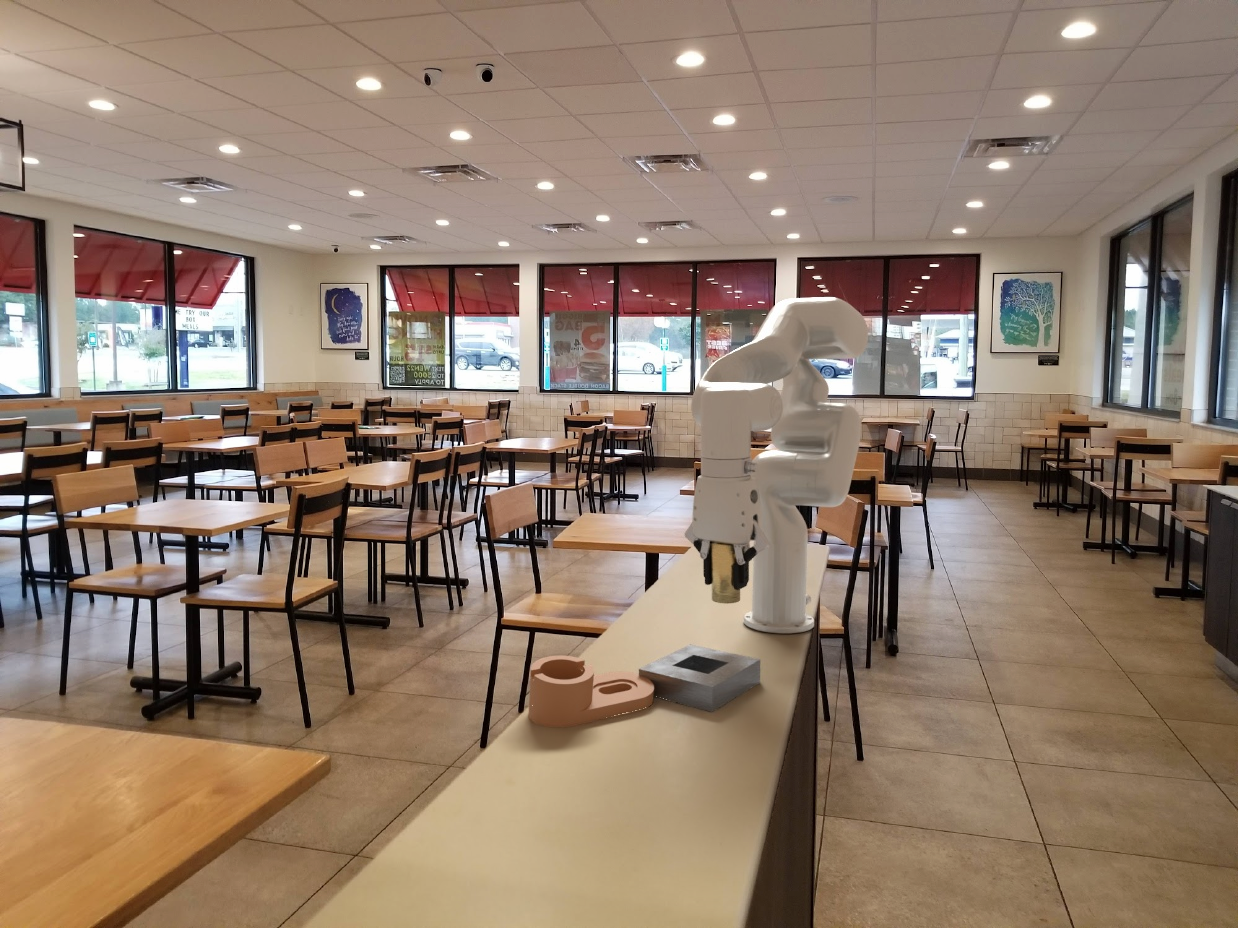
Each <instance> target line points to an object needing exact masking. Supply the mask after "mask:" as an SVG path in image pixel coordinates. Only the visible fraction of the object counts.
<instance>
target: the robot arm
mask: <svg viewBox="0 0 1238 928" xmlns="http://www.w3.org/2000/svg"><path fill="white" fill-rule="evenodd" d="M868 339H869V329H868V325H867V322H866V320H865V318H864V316H863V315H862V313H860V312H859V310H857V309H856V308H855V307H854V306H852V305H851V304H850V303H849V302H847V301H845V300H844V299H841V298H838V297H833V296H824V297H821V296H820V297H800V298H799V297H797V298H787V299H783V300H781V301H779V302H776V303H775V305H774V306H772V308H771V309H770V310H769V312H768V314H767V315H766V317H765V319H764V320H763V322H762V324H761V326H760V327H759V329H758V331H757V332H756V334H755V335H754V337H753V339H752V340H751V341H750V342H748V343H746V344H744V345H741V346H739V347H738V348H736V349H735V350H733V351H731V352H729V353H727V354H725V355H724V356H722V357H720V358H718V359H717V360H715V361H714V362H713V363H712V364H711V365H710V366H708V368H707V369H706V370H705V372H704V373H703V375H702V376H701V378H700V380H699V382H698V383H697V384H696V387H695V389H694V391H693V395H692V398H691V403H690V406H691V407H690V408H691V409H690V411H691V416H692V419H694V421H695V423H696V425H698V426H699V427H700V475H699V476H697V480H696V484H695V489H694V495H693V503H692V522H691V524H689V526H688V528H687V530H685V532H684V537H685V538H686V539H687V540H688V541H689V542H690V543H691V544H693V547H694V548H695V549H696V550H697V552H698V553H699V558H700V559H701V560H703V562H702V563H703V565H702V566H703V568H702V569H703V577H704V584H705V585H706V586H709V585H712V570H711V542H719V543H727V544H734V549H735V554H736V559H737V564H734V589H735V590H740V591H741V589H744V588H746V587H747V586H748V583H749V581H750V562H751V561H752V599H751V600H752V609H751V610H750V611H748V612H746V613H745V614H743V624H744V625H745V626H746V627H748V628H749V629H752V630H756V631H759V632H765V633H770V634H771V633H772V634H798V633H804V632H807V631H810V630H812V629H813V628H814V627H815V619H814V617H812V616H811V615H810V614H808V613H806V611H807V610H806V609H807V605H809V604H811V602H812V597H811V595H809V594H807V580H808V579H807V575H808V572H807V570H808V569H807V568H808V539H809V538H808V537H809V536H808V534H809V532H808V526H807V524H806V521H805V520H804V517H803V515H802V514H801V512H800V511H799V509H798V508H797V507H796V506H807V507H808V506H809V507H822V508H835V507H839V506H840V505H842V504H843V503H845V501H846V499H847V497H848V494H849V491H850V487H851V483H852V478H853V474H854V470H855V467H856V466H855V465H856V461H857V457H858V453H859V449H860V444H861V443H860V442H861V436H862V435H861V433H862V423H861V418H860V414H859V412H858V411H857V409H856V408H855V407H853V406H852V405H850V404H849V403H843V402H841V403H840V402H827V401H828V397H829V396H828V395H829V393H830V392H829V391H830V390H829V384H828V381H827V380H826V379H825V377H824V376H823V375H822V373H821V372H820V371H819V370H818V369H817V368H816V366H814V365H813V364H812V363H811V361H810V360H824V359H825V360H849V359H851V360H852V359H855V358H858V357H860V356H861V355H862V354H863V353H865V350H866V348H867V345H868V341H869V340H868ZM780 380H782V389H781V393H780V392H779V390H778V389H777V388H776V387H774V386H772V385H770V383H773V382H777V381H780ZM770 429H771V432H770V440H771V443H772V445H773V446H774V447H775V448H776V449H770V450H765V451H762V452H761V453H760V452H759V454H757V455H756V456H754V458H753V457H752V453H751V452H752V451H751V450H752V432H763V431H764V432H765V431H767V430H770ZM751 541H753V545H752V546H751V543H750V542H751Z"/></svg>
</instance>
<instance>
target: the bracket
mask: <svg viewBox="0 0 1238 928" xmlns="http://www.w3.org/2000/svg"><path fill="white" fill-rule="evenodd" d="M529 677H530V678H529V700H528V718H529V720H530V721H532V722H533V723H535V724H536V723H537V725H539V726H544V727H550V728H566V727H567V728H568V727H572V726H579V725H581V724H582V723H583V724H586V723H587V722H588V723H591V722H595V720H596V721H600V720H599V719H601V720H604V719H603V718H605V719H607V718H606V717H610V718H612V717H611V716H614V715H618V714H622V713H626V712H632V711H635V710H639V709H643V708H645V707H648V706H650V705H651V704H652V705H653V703H654V697H653V695H654V685H653V683H652V682H651V681H650V680H649V679H647V678H644V677H642V676H639V673H634V672H630V671H617V670H616V671H610V672H604V673H599V674H595V668H594V666H593V665H592V664H586V665H585V659H582V658H580V657H576V656H571V655H559V654H558V655H550V656H545V657H541V658H539V659H537V660H535V661H534V662H533V663H532V664H531V666H530V675H529ZM652 702H653V703H652ZM532 705H533V706H532ZM652 705H651V706H652ZM651 706H650V707H651ZM648 708H649V707H648ZM632 713H633V712H632ZM614 717H615V716H614ZM578 724H579V725H578ZM583 724H582V725H583Z"/></svg>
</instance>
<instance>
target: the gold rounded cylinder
mask: <svg viewBox="0 0 1238 928" xmlns="http://www.w3.org/2000/svg"><path fill="white" fill-rule="evenodd" d="M734 564H737V559H736V554H735V549H734V544H727V543H719V542H711V570H712V584H711V601H712V602H715V603H718V604H736V603H739V602H740V601H741V589H740V590H735V589H734Z"/></svg>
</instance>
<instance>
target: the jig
mask: <svg viewBox="0 0 1238 928" xmlns="http://www.w3.org/2000/svg"><path fill="white" fill-rule="evenodd" d="M638 674H639V676H642V677H644V678H647V679H649V680H650V681H651V682H652V683H653V685H654V695H653V696H657V697H661V698H664V699H667V700H666V701H668V700H670V701H669V702H672V701H674V702H673V703H676V702H678V703H677V704H679V703H680V705H683V704H685V705H684V706H687V705H688V706H687V707H691V706H692V708H695V707H696V708H695V709H698V710H702V711H707V712H710V713H713V712H715V711H716V710H718V709H720V708H721V707H723V706H724V704H725V705H727V704H728V703H729V702H731V701H733V700H734V699H736V698H737V697H739V696H740V694H741V695H742V694H744V693H746V692H747V691H748V690H750V689H752V688H753V687H755V686H757V685H759V684H760V683H761V659H760V658H756V657H750V656H747V655H743V654H736V653H733V652H727V651H723V650H718V649H714V648H708V647H704V646H699V645H694V644H688V645H686V646H684V647H682V648H680V649H678V650H676V651H674V652H670V653H669V654H667V655H664V656H663V657H661V658H659V659H657V660H655V661H652V662H651V663H649V664H647V665H644V666H642V667H640V668H638ZM657 697H656V698H657ZM735 697H736V698H735ZM664 699H663V700H664ZM732 699H733V700H732ZM727 702H728V703H727ZM719 707H720V708H719Z"/></svg>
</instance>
